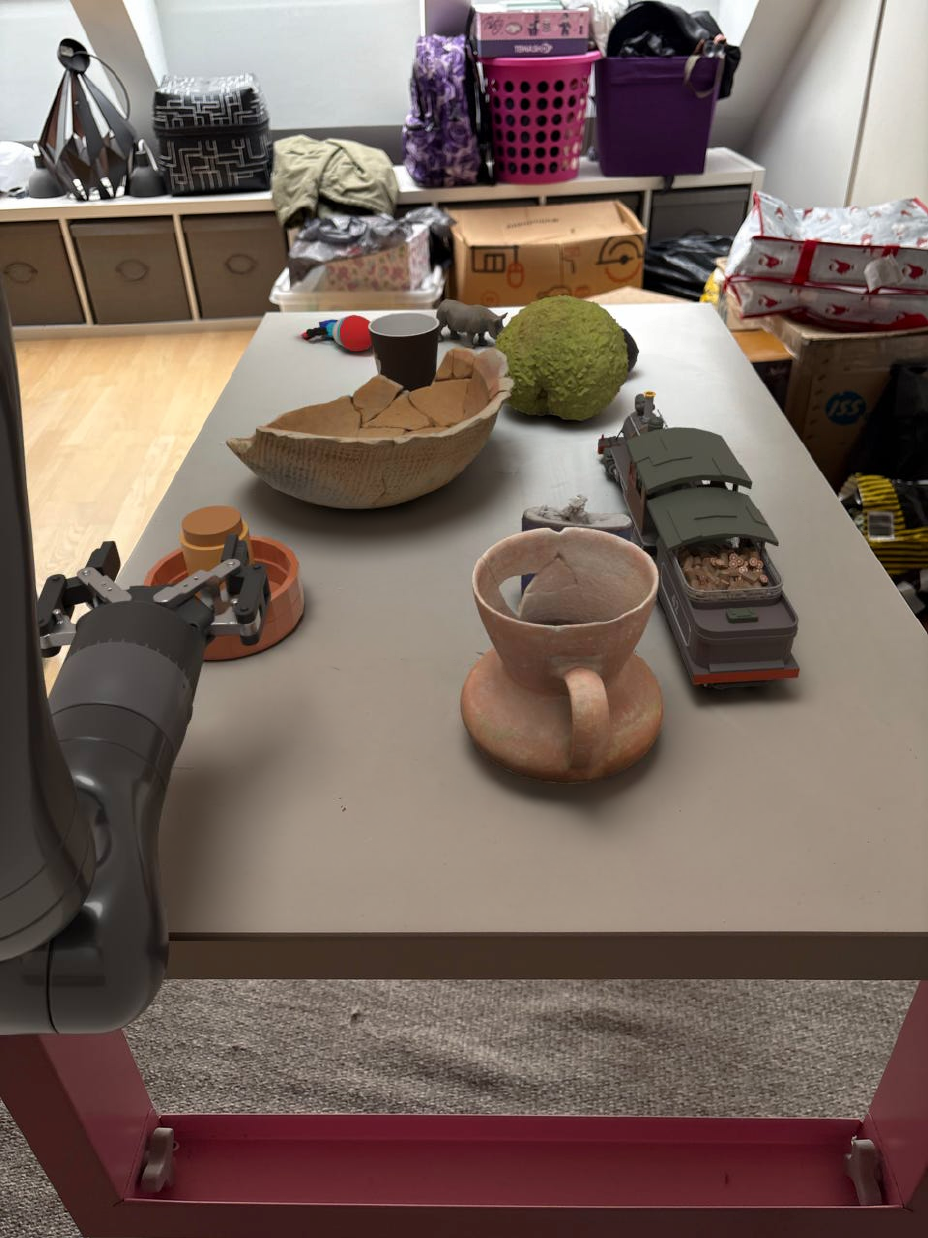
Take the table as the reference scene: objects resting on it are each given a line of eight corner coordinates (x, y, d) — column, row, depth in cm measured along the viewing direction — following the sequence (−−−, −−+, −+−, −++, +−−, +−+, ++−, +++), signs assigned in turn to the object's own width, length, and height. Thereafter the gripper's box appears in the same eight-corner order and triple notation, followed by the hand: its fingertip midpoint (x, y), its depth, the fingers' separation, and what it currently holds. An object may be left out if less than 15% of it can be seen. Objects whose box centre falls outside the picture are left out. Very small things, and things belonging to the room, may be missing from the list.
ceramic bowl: (312, 401, 118) (315, 282, 109) (522, 460, 114) (545, 341, 105) (184, 527, 96) (174, 390, 86) (439, 605, 92) (458, 471, 82)
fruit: (493, 442, 111) (461, 311, 109) (524, 436, 125) (497, 319, 122) (630, 407, 106) (600, 268, 103) (648, 405, 119) (621, 281, 117)
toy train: (587, 449, 109) (591, 354, 103) (665, 444, 109) (674, 350, 103) (683, 709, 73) (699, 587, 66) (800, 701, 73) (828, 579, 66)
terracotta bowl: (141, 667, 79) (128, 623, 76) (169, 581, 90) (159, 539, 87) (299, 656, 80) (292, 612, 77) (309, 572, 90) (302, 530, 88)
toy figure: (298, 348, 144) (351, 357, 133) (293, 314, 142) (347, 320, 131) (341, 340, 148) (396, 348, 137) (337, 307, 146) (392, 312, 135)
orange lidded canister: (193, 632, 82) (170, 538, 77) (203, 595, 86) (182, 504, 81) (259, 627, 82) (241, 534, 77) (266, 591, 87) (249, 501, 81)
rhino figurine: (508, 358, 133) (507, 315, 130) (429, 341, 140) (426, 300, 136) (524, 349, 136) (524, 307, 132) (445, 333, 143) (444, 292, 139)
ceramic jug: (456, 668, 78) (448, 513, 69) (635, 657, 78) (648, 502, 70) (469, 839, 63) (461, 669, 55) (689, 825, 63) (714, 654, 55)
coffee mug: (435, 417, 118) (431, 337, 112) (367, 414, 119) (359, 335, 114) (453, 381, 127) (450, 305, 121) (390, 379, 129) (383, 304, 123)
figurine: (591, 324, 120) (573, 297, 136) (577, 377, 123) (561, 345, 139) (649, 337, 121) (624, 308, 137) (633, 389, 124) (611, 355, 140)
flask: (627, 601, 84) (635, 493, 78) (624, 621, 82) (632, 511, 76) (523, 592, 86) (523, 485, 80) (517, 611, 84) (516, 502, 78)
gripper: (240, 637, 53) (268, 495, 66) (-25, 653, 52) (56, 507, 65) (260, 738, 57) (282, 586, 70) (16, 754, 56) (85, 598, 70)
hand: (173, 548), depth 68 cm, fingers open, 8 cm apart
